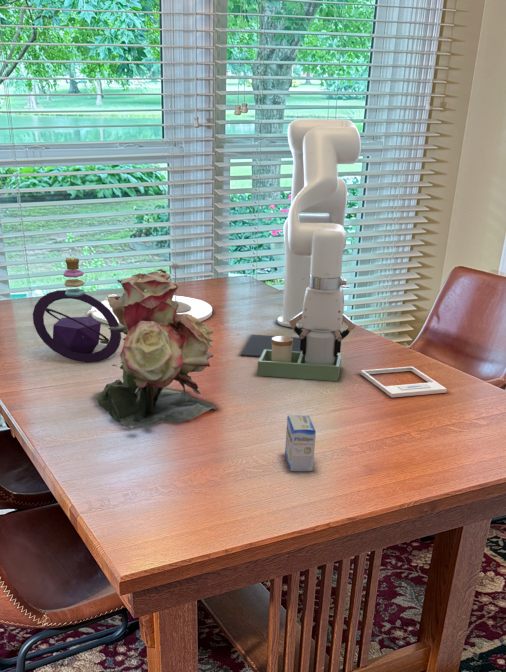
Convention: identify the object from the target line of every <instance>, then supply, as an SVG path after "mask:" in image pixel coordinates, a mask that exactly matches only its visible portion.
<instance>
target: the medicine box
mask: <svg viewBox="0 0 506 672" xmlns="http://www.w3.org/2000/svg"><path fill="white" fill-rule="evenodd" d="M316 436H317V432H316V428H315V426H314V424H313V422H312V420H311V417H310V415H307V414H288V415H287V419H286V431H285V445H284V446H285V447H284V455H285V459H286V461H287V464H288V466H289V467H288V468H289V470H290V472H312V471H313V470H314V459H315V449H316V447H315V446H316Z"/></svg>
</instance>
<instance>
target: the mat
mask: <svg viewBox="0 0 506 672" xmlns="http://www.w3.org/2000/svg"><path fill="white" fill-rule="evenodd" d="M275 336H276V335H262V334H261V335H260V334H252V335H251V336H250V338H249V340H248V342H247V343H246V345H245V347H244V348H243V351H242V352H241V353H240V356H241V357H250V358H251V357H253V358H254V357H255V358H260V357H261V355H262V353H263V351H264V349H266V350H272V338H273V337H275ZM290 337H291V338H293V344H292V351H297V352H302V350H300V342H301V339H300V337H293V336H290Z"/></svg>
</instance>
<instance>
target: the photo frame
mask: <svg viewBox="0 0 506 672" xmlns="http://www.w3.org/2000/svg"><path fill="white" fill-rule="evenodd" d="M399 372H401V373H402V372H412V373H414V374H415V375H417V376H418V377H419V378H421V379H423V380H424V381H426V382H419V383H408V384H407V383H405V384H398V385H397V384H396V385H384V384H382V383H381V382H380V381H379V380H377V379H376V378H375V377H373V376H372V375H377V374H388V373H390V374H391V373H399ZM360 375H361V376H363V377H364V378H365V379H366V380H368V381H369V382H370V383H371V384H373V385H374V386H376V388H379V390H381V391H382V392H384V393H385V394H386V395H388V396H389V397H390V398H401V397H411V396H423V395H435V394H445V393H447V391H448V388H446V387H445V386H444V385H442V384H440V383H439V382H437V381H436V380H434V379H433V378H431V377H430V376H428V375H427V374H425V373H423V372H422V371H421V370H419V369H418V368H416V367H415V366H412V365H411V366H400V367H388V368H387V367H386V368H377V369H363V370H362V369H361V370H360Z"/></svg>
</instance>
